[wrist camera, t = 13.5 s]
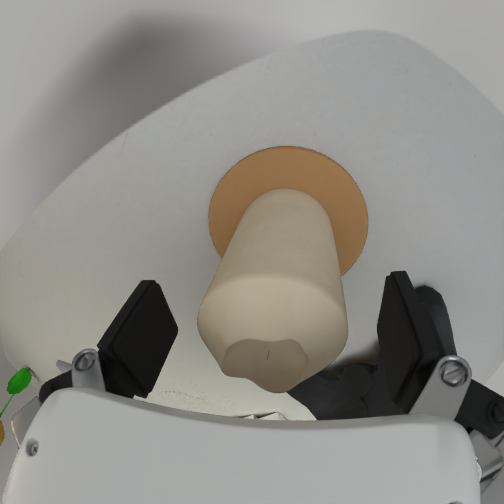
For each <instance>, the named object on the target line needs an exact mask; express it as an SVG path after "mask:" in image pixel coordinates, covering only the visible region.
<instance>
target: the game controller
mask: <svg viewBox="0 0 504 504" xmlns="http://www.w3.org/2000/svg"><path fill="white" fill-rule="evenodd" d="M415 292H416V294H417V296H418V299H419V301H420V303H425V304H426V305H427V307H428V310H429V312H430V314H431V317H432V319H433V321H434V324H435V326H436V329H437V331H438V334H439V336H440V339H441V341H442V344H443V347H444V350H445V352H446V355H447V356H449V355H456V356H457V352H456V348H455V344H454V340H453V333H452V328H451V324H450V320H449V316H448V312H447V308H446V306H445V303H444V301H443V298H442V296H441V294H440V293H438V292H437V291H436V290H434V289H433V288H430V287H426V286H423V287H420V288H418V289H416V290H415ZM286 392H287V393H288V394H289V395H290V396H292V397H293V398H294V399H296V400H297V401H299V402H300V403H301V404H303V405H304V406H306V407H307V408H308V409H309V410H310V412H311V413H312V414H313V415H314V416H315V418H316V419H317V420H342V419H358V418H370V417H380V416H393V415H405V414H404V413H403V408H398V409H395V406H394V402H390V400H389V394H388V387H387V381H386V375H385V370H384V364H383V359H382V354H381V351H380V354H379V356H378V359H377V364H375V365H373V366H372V365H370V364H355V365H350V366H348V367H347V368H345V369H344V370H343V371H342V373H341V375H340V378H337V377H334V376H332V375H330V374H328V373H325V372H323V371H319V372H318V373H316V374H314V375H313V376H311V377H309V378H307V379H306V380H304V381H302V382H300V383H299V384H297V385H296V386H295V387H293V388H292V389H290V390H289V391H286Z"/></svg>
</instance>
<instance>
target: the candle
mask: <svg viewBox="0 0 504 504" xmlns="http://www.w3.org/2000/svg"><path fill="white" fill-rule="evenodd" d="M197 325H198V330H199V333H200V336H201V338H202V340H203V341H204V343H205V345H206V346H207V348H208V349H209V351H210V352H211V353H212V355H213V356H214V358H215V359H216V361H217V363H218V364H219V366H220V368H221V370H222V372H223V373H224V374H225V375H227V376H230V377H239V378H247V379H249V380H251V381H253V382H254V383H255V384H257V385H258V386H259V387H261V388H262V389H264V390H266V391H269V392H273V393H284V392H286V391H289V390H290V389H292V388H293V387H295V386H296V385H297V384H299V383H300V382H302V381H304V380H306V379H307V378H309V377H311V376H313V375H314V374H316V373H318V372H319V371H321V370H322V369H324V368H325V367H326V366H328V365H329V364H330V363H332V362H333V361H334V360H335V359H336V358H337V357H338V356H339V354H340V353H341V352H342V350H343V348H344V347H345V345H346V341H347V338H348V324H347V315H346V308H345V301H344V294H343V287H342V281H341V274H340V268H339V263H338V257H337V251H336V246H335V241H334V236H333V231H332V226H331V222H330V219H329V217H328V215H327V213H326V211H325V210H324V208H323V207H322V205H321V204H320V203H319V202H318V201H317V200H316V199H314V198H313V197H312V196H310V195H308V194H306V193H304V192H302V191H298V190H294V189H276V190H272V191H269V192H266V193H264V194H262V195H261V196H259V197H258V198H256V199H255V200H254V201H253V202H252V203H251V204H250V205H249V207H248V208H247V210H246V211H245V213H244V215H243V217H242V219H241V221H240V223H239V225H238V227H237V229H236V231H235V233H234V235H233V237H232V239H231V241H230V244H229V246H228V248H227V250H226V252H225V254H224V256H223V258H222V260H221V263H220V265H219V267H218V269H217V271H216V273H215V275H214V278H213V280H212V282H211V284H210V286H209V288H208V291H207V293H206V295H205V297H204V299H203V302H202V304H201V306H200V309H199V312H198V317H197Z"/></svg>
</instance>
